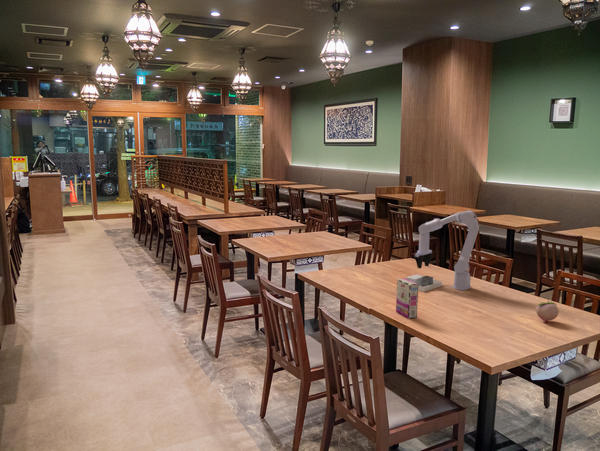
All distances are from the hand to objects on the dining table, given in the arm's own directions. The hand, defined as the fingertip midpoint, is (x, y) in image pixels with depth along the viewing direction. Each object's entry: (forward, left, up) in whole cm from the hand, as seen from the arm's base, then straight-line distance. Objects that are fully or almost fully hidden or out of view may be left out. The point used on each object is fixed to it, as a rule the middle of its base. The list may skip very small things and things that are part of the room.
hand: (423, 267), depth 281 cm
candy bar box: (+54, +26, -10) cm, 61 cm away
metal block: (+8, +8, -9) cm, 15 cm away
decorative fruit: (+15, +75, -10) cm, 77 cm away
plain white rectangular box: (+8, +1, -9) cm, 12 cm away
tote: (+8, +4, -9) cm, 13 cm away
